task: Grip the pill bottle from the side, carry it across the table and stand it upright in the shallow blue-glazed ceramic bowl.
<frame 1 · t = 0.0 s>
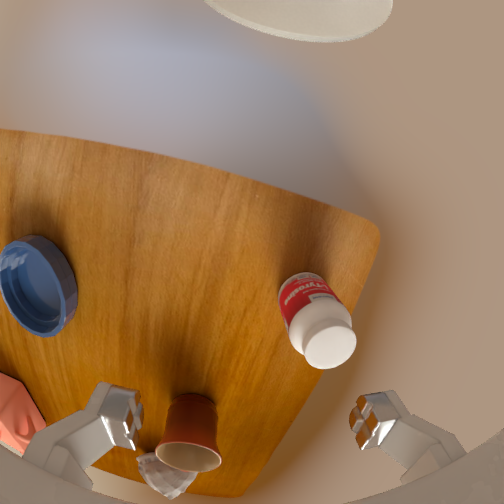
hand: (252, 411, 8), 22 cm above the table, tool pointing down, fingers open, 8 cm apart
mug: (192, 410, 37), on the table
seashell: (171, 455, 41), on the table
bowl: (43, 281, 29), on the table
teapot: (23, 403, 36), on the table
pill bottle: (301, 294, 32), on the table
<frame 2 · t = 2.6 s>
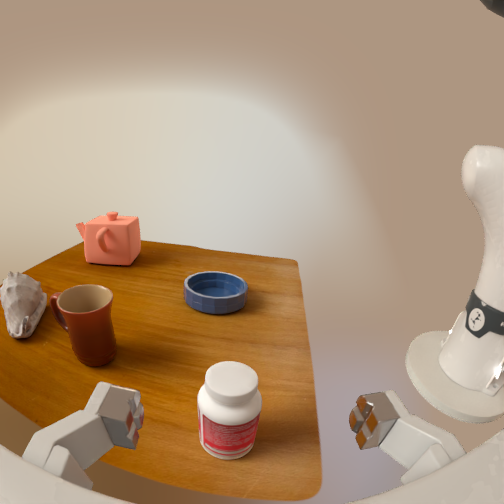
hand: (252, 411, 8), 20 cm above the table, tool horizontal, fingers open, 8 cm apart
mug: (89, 352, 35), on the table
seashell: (30, 320, 38), on the table
bowl: (215, 300, 58), on the table
teapot: (106, 258, 73), on the table
pill bottle: (226, 441, 25), on the table
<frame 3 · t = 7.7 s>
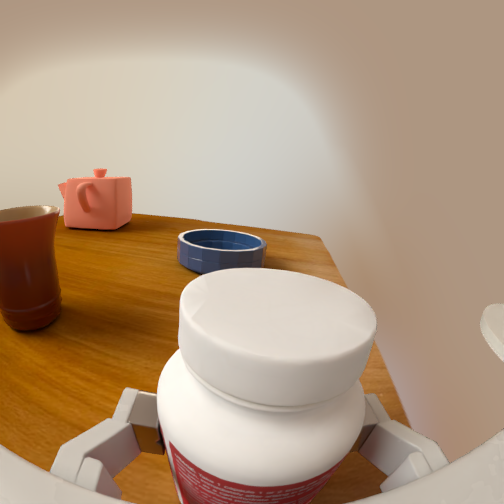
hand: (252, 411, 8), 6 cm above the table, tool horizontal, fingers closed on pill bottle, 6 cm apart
mug: (24, 313, 20), on the table
bowl: (220, 263, 43), on the table
teapot: (90, 225, 59), on the table
pill bottle: (240, 492, 9), on the table, touching gripper
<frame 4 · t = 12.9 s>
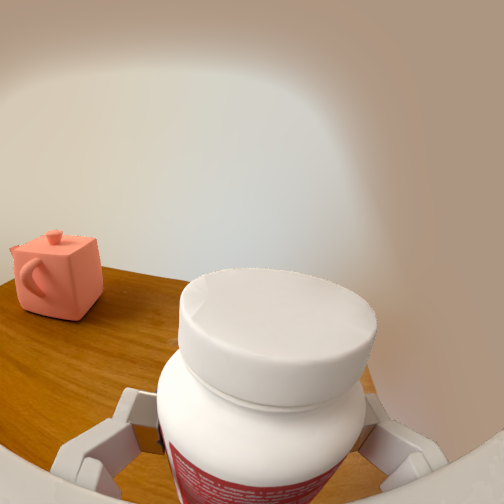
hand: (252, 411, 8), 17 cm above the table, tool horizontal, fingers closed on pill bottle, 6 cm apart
teapot: (53, 302, 41), on the table
pill bottle: (240, 492, 9), point 11 cm above the table, touching gripper
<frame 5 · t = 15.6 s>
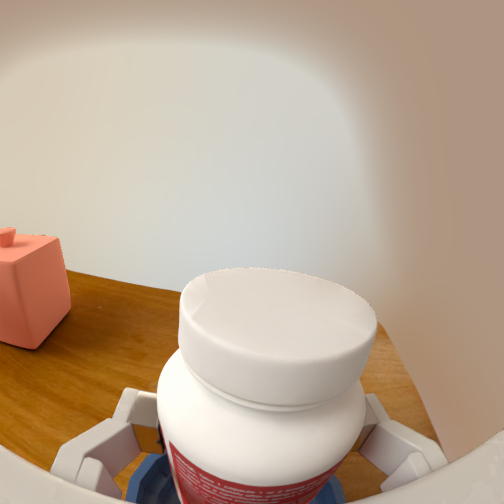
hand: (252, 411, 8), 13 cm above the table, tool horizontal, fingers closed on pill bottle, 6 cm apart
teapot: (12, 320, 27), on the table
pill bottle: (240, 492, 9), point 7 cm above the table, touching gripper
when the fingers open (7 cm above the table, at t = 18.0 s): pill bottle stays where it is, resting on bowl.
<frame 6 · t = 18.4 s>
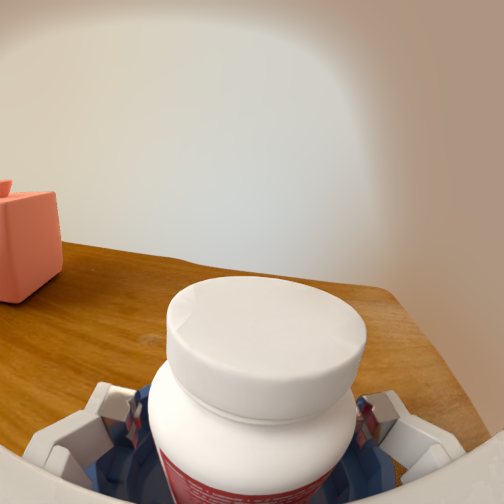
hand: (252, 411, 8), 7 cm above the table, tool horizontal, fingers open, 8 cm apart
bowl: (237, 496, 9), on the table
teapot: (0, 281, 25), on the table
pill bottle: (235, 495, 9), resting on bowl
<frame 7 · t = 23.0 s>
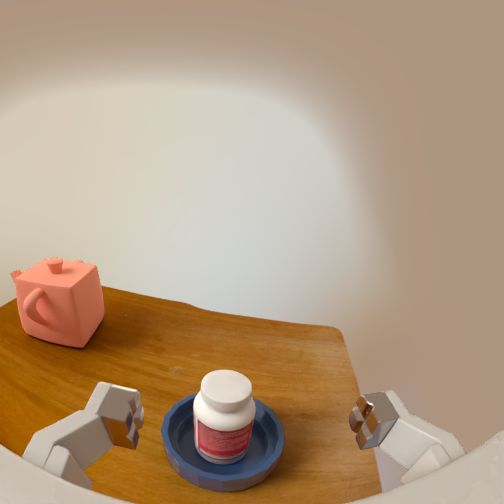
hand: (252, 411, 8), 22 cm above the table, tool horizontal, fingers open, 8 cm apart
bowl: (221, 447, 26), on the table
teapot: (56, 326, 42), on the table
pill bottle: (221, 446, 26), resting on bowl
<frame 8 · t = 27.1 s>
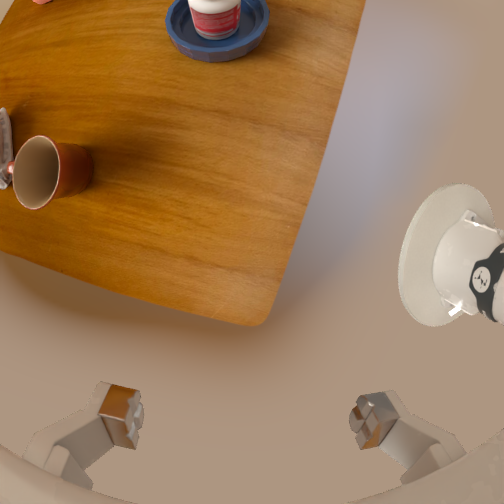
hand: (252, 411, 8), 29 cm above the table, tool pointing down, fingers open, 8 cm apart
mug: (69, 168, 32), on the table
seashell: (5, 146, 29), on the table
bowl: (218, 26, 28), on the table
pill bottle: (217, 25, 27), resting on bowl
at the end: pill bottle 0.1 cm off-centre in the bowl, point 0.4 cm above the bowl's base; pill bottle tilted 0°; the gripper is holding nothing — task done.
